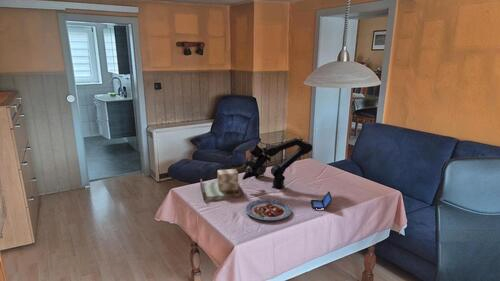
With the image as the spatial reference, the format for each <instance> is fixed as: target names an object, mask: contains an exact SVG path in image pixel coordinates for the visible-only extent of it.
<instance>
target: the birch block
mask: <svg viewBox="0 0 500 281" xmlns="http://www.w3.org/2000/svg"><path fill="white" fill-rule="evenodd" d="M237 170H238V169H236V168H230V169H218V170H217V173H216V174H217V180H216V182H217V184H218V189H219V191H225V190H237V189H238V183H239V172H238V171H237Z"/></svg>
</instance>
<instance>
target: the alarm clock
mask: <svg viewBox="0 0 500 281" xmlns="http://www.w3.org/2000/svg"><path fill="white" fill-rule="evenodd" d="M266 172H267V164H266V162H265V163H264V164H263V165H262V168H261V167H260V168H259V169H258V173H259V175H260V176H265V173H266Z"/></svg>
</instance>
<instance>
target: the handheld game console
mask: <svg viewBox="0 0 500 281" xmlns="http://www.w3.org/2000/svg"><path fill="white" fill-rule="evenodd" d="M332 201H333V197H332V195H331V192H330V191H328V192H327V193H326V194H325V195H324V197H323V198H321V199H311V200H310V204H312V205H311V209H312V208H313V209H316V208H317V209H321V208H324V209H326V210H327V208H328V206H330V204H331V203H332ZM313 209H312V210H313Z"/></svg>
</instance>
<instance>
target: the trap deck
mask: <svg viewBox="0 0 500 281" xmlns="http://www.w3.org/2000/svg"><path fill="white" fill-rule="evenodd" d="M199 181H200V183H199V184H200V190H201V191H200V192H201V196H202V199H203V201H204V202H205V201H206V202H207V201H218V200H227V199H228V200H229V199H238V198H239V199H240V198H244V197H245V192H244V190H243V189H242V187H241V185H240V183H239V182H238V189H237V190H225V191H219V189H218V184H217V181H216V182H215V181H214V182H203V179H202V178H200V180H199Z"/></svg>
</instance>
